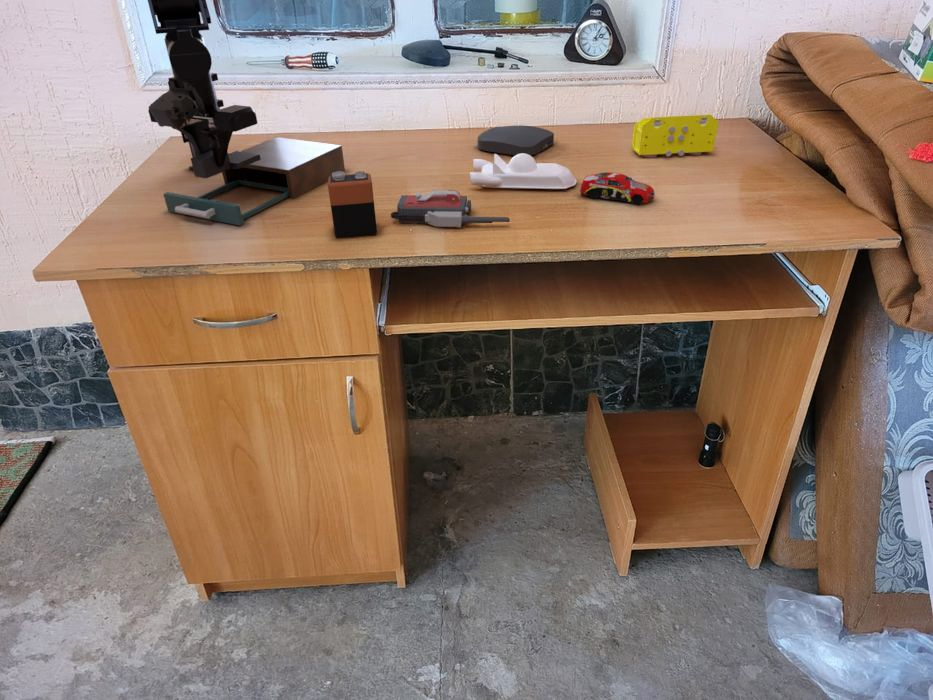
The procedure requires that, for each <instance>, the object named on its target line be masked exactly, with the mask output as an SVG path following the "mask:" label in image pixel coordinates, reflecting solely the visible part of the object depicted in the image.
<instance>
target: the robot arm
mask: <svg viewBox="0 0 933 700" xmlns="http://www.w3.org/2000/svg"><path fill="white" fill-rule="evenodd" d="M147 3H148V8H149V12H150V16H151V19H152V23H153V27H154V31H155V34H156V35H159V34H164V37H165V38H164V40H163V41H164V44H165V48H166V52H167V55H168V60H169V63H170V68H171V71H172V77H168V81H167V85H168V90H167V91H166V92H164V93H162V94H161V95H160V96H159V97H157V99H155V100H154V101H153V102H152V103H150V105H148V109H147V112H148V115H149V118H150V119H149V120H150V122H151V123H157V124H158V126H159V127H161V128H164V127H169V128H172V129H173V130H176V131H178V132H180V134H181V137H182V141H183V144H187V143H188V145H189V149H190V150H189V151H190V153H191V158H193V157H195V156H198V155H201V154H203V153H206V152H209V151H211V150H212V152H213V155H214V159H215V161H216V164H217V166H218V167H222V166H224V162H225V158H226V154H227V151H228V150H229V145H230V141H231V138H232V136H233V133H234V132H235V133H236V132H239V131H241V130H244V129H247V128H249V127H252V126H255V125H258V119H257V114H256V110H254V108H253V107H251V106H250V105H249V106H248V105H241V104H233V105H229V106H226V107H225V106H224V105H225V104H224V100H223V99H218V98H217V93H216V89H215V84H214V82H216V81H219V76H218V73H216V72H215V73H214V72H212V71H211V69H212V56H211V53H210V50H209V49H208V48H207V46H206V44H205V39H204V36H203V35H202V33H201V31H210V26H209V24H212V18H211V14H210V10H209V7H208V4H207V0H147ZM158 23H159V24H160V25H158ZM223 107H224V108H223ZM188 169H189V171H194V170H193V166H192V165H190V166H189V167H188Z"/></svg>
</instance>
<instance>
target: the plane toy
mask: <svg viewBox="0 0 933 700" xmlns="http://www.w3.org/2000/svg"><path fill="white" fill-rule="evenodd" d="M493 157H494V158H493V162H490V161H488V160H485V159H482V158H473V159H472V164H473V170H474V172H469V179H470V184H471V186H481V187H483V188H496V189H497V188H498V189H536V190H538V189H541V190H567V189H569V188H571V187H574V186H576V184H577V179H576V177H575V176H574V174H573V173H572V171H570V169H569V168H568V167H566V166H563V165H561V164H559V163H556V162H548V163H547V162H546V163H541V162H540V163H537V162H536V160H535V158H534V157H533V155H528V154H525V153H521V154H517V155H513V157H512V158H511V159H510V160H509V162H506V161H504V160H503V159H502V158H501V156H499V155H498V153H494V154H493Z"/></svg>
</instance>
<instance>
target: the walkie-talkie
mask: <svg viewBox="0 0 933 700" xmlns="http://www.w3.org/2000/svg"><path fill="white" fill-rule="evenodd" d="M396 208H397V211H393V212H392V211H391V213H390V218H391V219H393V220H397V221H398V222H399V223H402V224H428V225H431V226H434V227H437V228H462V225H469V224H492V223H510V217H508V216H470V215H468V214H467V213H471V212H472V200H471V199H468V196H467V195H461V194H460V191H458V190H455V189H449V190H446V189H434V190H433V191H431V192H430V193H428V194H422V192H421V191H417V193H416V194H401V196H400V198H399V200H398V202H397V205H396Z"/></svg>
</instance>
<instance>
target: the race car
mask: <svg viewBox="0 0 933 700" xmlns="http://www.w3.org/2000/svg"><path fill="white" fill-rule="evenodd" d="M579 192H580V193H581V194H583V195H585V196H587V197H588V196H589V197H590V198H591V199H592V200H597V199H599V198H600V199H606V200H614V201H621V202H629V203H632V204H633V205H635V206H639V205H641V204H642V203H643V204H644V203H649V202H651V201H653V200H654V199H655V196H656V195H655V194H656V193H655V190H654V188H653V187H652V186H651V185H650V184H647V183H644V182H640V181H637V180H634V179H632V177H629V176H628V175H625V174H624V173H619V172H599V173H595V174H588V175H586V176H584V178H583V180H582V182H581V184H580V189H579Z"/></svg>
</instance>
